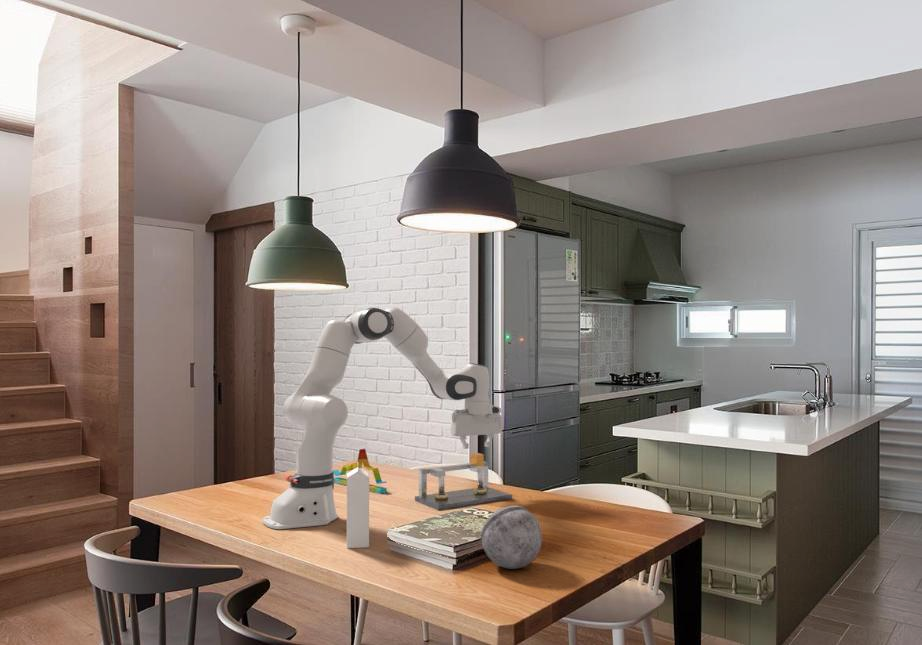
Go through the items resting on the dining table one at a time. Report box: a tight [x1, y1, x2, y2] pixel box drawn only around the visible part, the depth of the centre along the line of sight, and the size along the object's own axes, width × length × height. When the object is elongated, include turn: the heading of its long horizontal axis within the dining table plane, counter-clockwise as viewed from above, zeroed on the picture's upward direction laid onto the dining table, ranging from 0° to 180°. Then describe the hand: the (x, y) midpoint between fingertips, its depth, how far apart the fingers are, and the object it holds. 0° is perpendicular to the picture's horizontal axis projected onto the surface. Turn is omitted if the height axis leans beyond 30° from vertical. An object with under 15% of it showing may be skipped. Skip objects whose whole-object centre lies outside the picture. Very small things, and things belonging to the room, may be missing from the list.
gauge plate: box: [414, 460, 513, 511], centre depth 241 cm, size 30×16×11 cm, turn 123°
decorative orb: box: [480, 505, 543, 570], centre depth 169 cm, size 15×14×15 cm
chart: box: [332, 448, 387, 495], centre depth 262 cm, size 30×3×15 cm, turn 46°
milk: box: [346, 467, 370, 549], centre depth 188 cm, size 6×6×22 cm
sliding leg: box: [469, 452, 485, 488], centre depth 247 cm, size 3×6×12 cm, turn 33°
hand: (476, 447), depth 247 cm, fingers open, 8 cm apart
